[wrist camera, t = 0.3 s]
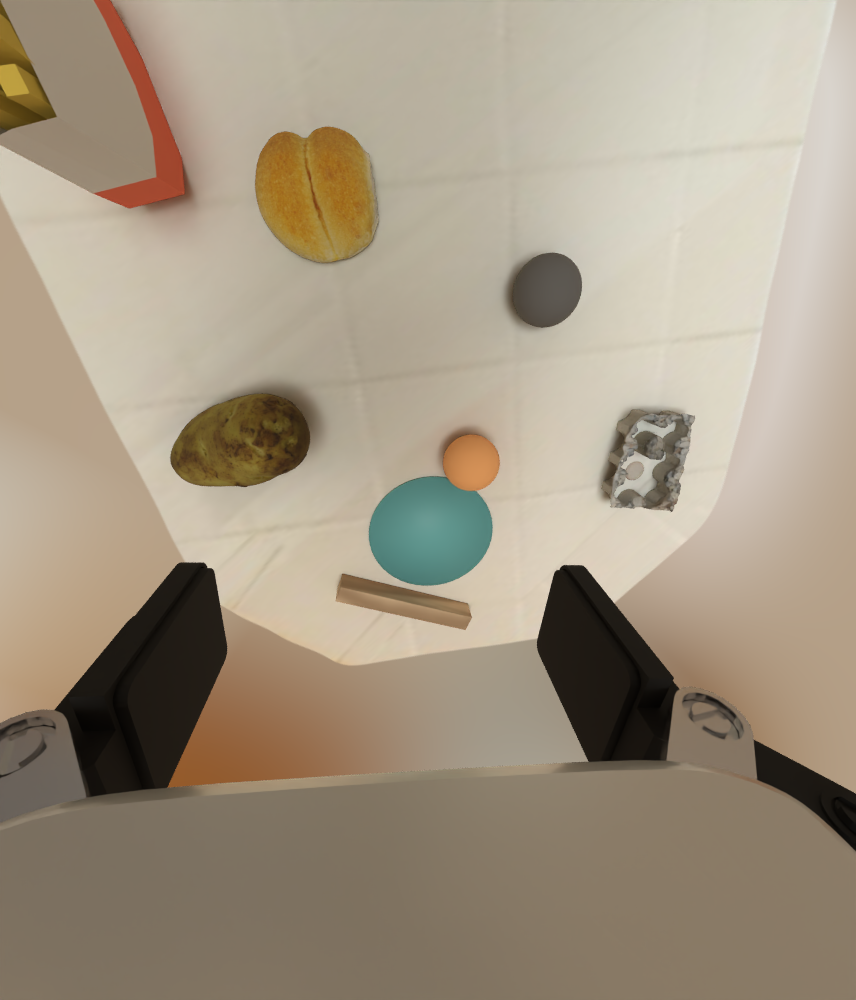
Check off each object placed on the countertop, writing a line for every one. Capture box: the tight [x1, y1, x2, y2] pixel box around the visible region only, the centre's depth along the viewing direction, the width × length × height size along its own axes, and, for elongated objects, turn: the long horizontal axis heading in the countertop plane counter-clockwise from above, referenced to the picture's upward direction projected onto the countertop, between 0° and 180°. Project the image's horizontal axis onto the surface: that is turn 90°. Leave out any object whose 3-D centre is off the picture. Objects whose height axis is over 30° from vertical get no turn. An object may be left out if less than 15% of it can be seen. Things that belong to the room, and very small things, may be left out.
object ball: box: [443, 435, 500, 491], centre depth 39 cm, size 6×6×6 cm
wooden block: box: [336, 574, 472, 630], centre depth 47 cm, size 2×16×2 cm, turn 69°
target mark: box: [369, 476, 492, 585], centre depth 45 cm, size 14×14×1 cm
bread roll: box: [255, 127, 378, 263], centre depth 30 cm, size 8×9×4 cm
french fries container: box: [0, 0, 185, 208], centre depth 20 cm, size 5×11×18 cm, turn 13°
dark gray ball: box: [513, 253, 582, 327], centre depth 33 cm, size 6×6×6 cm
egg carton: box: [601, 410, 695, 512], centre depth 42 cm, size 11×8×4 cm
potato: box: [170, 394, 310, 487], centre depth 35 cm, size 8×13×8 cm, turn 90°
